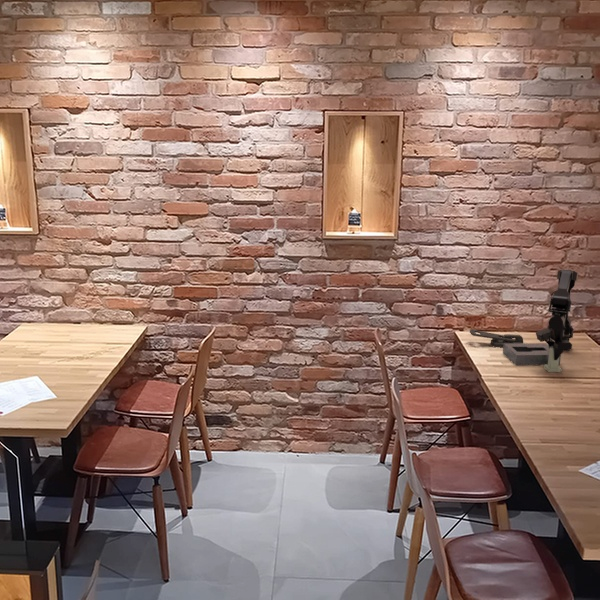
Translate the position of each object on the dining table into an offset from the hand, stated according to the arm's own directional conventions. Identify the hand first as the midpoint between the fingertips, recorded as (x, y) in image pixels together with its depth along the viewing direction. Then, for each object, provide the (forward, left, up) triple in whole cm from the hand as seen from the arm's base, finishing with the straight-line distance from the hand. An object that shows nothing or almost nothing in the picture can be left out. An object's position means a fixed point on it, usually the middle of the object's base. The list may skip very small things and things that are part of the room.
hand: (553, 358), depth 309 cm
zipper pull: (+13, -34, -5) cm, 37 cm away
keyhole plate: (+4, -14, -5) cm, 15 cm away
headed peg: (0, 0, -5) cm, 5 cm away
